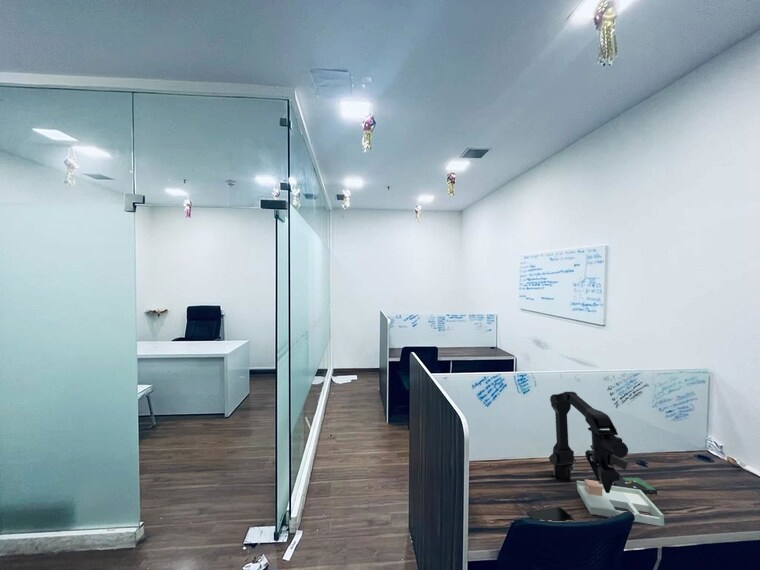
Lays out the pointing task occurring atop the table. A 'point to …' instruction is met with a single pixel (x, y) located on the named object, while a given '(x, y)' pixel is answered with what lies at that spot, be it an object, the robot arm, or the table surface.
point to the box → (621, 503)
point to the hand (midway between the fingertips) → (602, 486)
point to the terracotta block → (593, 487)
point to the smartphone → (550, 514)
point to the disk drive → (635, 485)
